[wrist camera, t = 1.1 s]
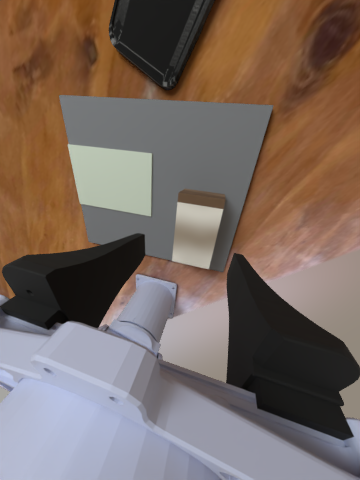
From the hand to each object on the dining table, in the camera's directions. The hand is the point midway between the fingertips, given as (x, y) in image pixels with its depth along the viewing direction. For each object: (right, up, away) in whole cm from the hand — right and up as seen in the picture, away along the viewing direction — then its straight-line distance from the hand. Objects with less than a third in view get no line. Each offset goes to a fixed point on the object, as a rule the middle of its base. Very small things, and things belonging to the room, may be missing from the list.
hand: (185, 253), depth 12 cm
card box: (+2, +3, +9) cm, 10 cm away
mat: (-4, +8, +9) cm, 13 cm away
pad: (-10, +9, +9) cm, 16 cm away
